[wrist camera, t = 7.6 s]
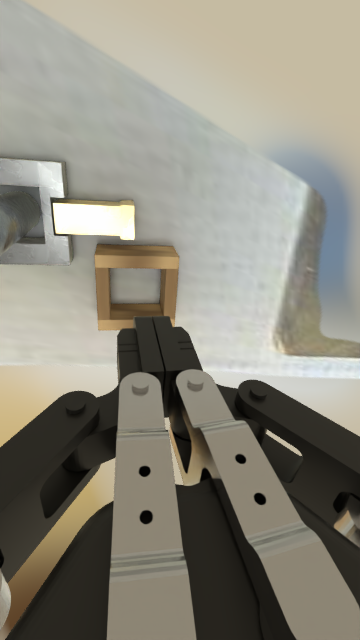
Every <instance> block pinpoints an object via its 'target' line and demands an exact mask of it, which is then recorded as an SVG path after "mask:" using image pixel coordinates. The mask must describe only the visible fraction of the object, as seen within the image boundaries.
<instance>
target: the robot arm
mask: <svg viewBox="0 0 360 640" xmlns="http://www.w3.org/2000/svg"><path fill="white" fill-rule="evenodd" d="M117 369H118V386H117V387H116V388H115V389H114V390H113V391H112V392H110V393H108V394H106V395H103V396H100V397H97V398H96V397H95V396H94V395H93V394H91V393H89V392H85V391H74V392H69V393H67V394H65V395H63V396H61V397H59V398H58V399H57V400H56V401H55V402H53V403H52V404H51V405H50V406H49V407H48V408H46V409H45V410H44V411H43V412H42V413H40V414H39V415H38V416H37V417H36V418H35V419H33V420H32V421H31V422H30V423H29V424H27V425H26V426H25V427H24V428H23V429H22V430H20V431H19V432H18V433H17V434H16V435H14V436H13V437H12V438H11V439H10V440H8V441H7V442H6V443H5V444H4V445H3V446H1V447H0V630H1V628H2V626H3V625H4V623H5V621H6V619H7V616H8V613H9V609H10V604H11V594H10V590H9V587H8V582H9V581H10V580H11V579H12V577H13V576H14V575H15V574H16V572H17V571H18V570H19V569H20V567H21V566H22V565H23V563H24V562H25V561H26V560H27V558H28V557H29V556H30V555H31V554H32V552H33V551H34V550H35V549H36V547H37V546H38V545H39V544H40V542H41V541H42V540H43V539H44V537H45V536H46V535H47V533H48V532H49V531H50V530H51V528H52V527H53V526H54V525H55V524H56V522H57V521H58V520H59V519H60V517H61V516H62V515H63V514H64V512H65V511H66V510H67V508H68V507H69V506H70V505H71V504H72V502H73V501H74V500H75V499H76V497H77V496H78V495H79V494H80V492H81V491H82V490H83V488H84V487H85V486H86V485H87V484H88V482H89V481H90V479H91V478H92V477H93V476H94V475H95V473H96V472H97V471H98V469H99V468H100V465H101V464H102V463H104V462H106V461H109V460H111V459H113V458H115V457H116V463H115V484H114V501H112V502H111V503H109V504H107V505H105V506H104V507H102V508H101V509H99V510H98V511H97V512H96V513H95V514H94V515H93V516H91V517H90V518H89V520H88V521H87V522H86V523H85V524H84V525H83V526H82V528H81V529H80V530H79V532H78V533H77V535H76V536H75V538H74V539H73V541H72V542H71V544H70V545H69V546H68V548H67V549H66V551H65V553H64V554H63V555H62V557H61V558H60V560H59V561H58V563H57V564H56V566H55V567H54V569H53V570H52V572H51V573H50V574H49V576H48V578H47V579H46V580H45V582H44V583H43V585H42V586H41V588H40V589H39V591H38V592H37V594H36V595H35V597H34V598H33V599H32V601H31V603H30V604H29V605H28V607H27V608H26V610H25V612H24V613H23V614H22V616H21V617H20V619H19V620H18V622H17V623H16V625H15V626H14V627H13V629H12V630H11V632H10V633H9V635H8V636H7V638H6V639H5V640H360V437H359V436H358V435H356V434H354V433H352V432H351V431H349V430H347V429H345V428H344V427H342V426H340V425H338V424H337V423H335V422H333V421H331V420H330V419H328V418H326V417H324V416H322V415H321V414H319V413H317V412H315V411H314V410H312V409H310V408H308V407H307V406H305V405H303V404H301V403H300V402H298V401H296V400H294V399H293V398H291V397H289V396H287V395H286V394H284V393H282V392H280V391H279V390H277V389H275V388H273V387H272V386H270V385H268V384H266V383H264V382H261V381H258V380H247V381H244V382H242V383H241V384H240V385H239V387H238V389H236V388H230V387H224V386H221V385H218V384H216V383H215V382H214V380H213V378H212V377H211V376H210V375H209V374H207V373H206V372H203V369H202V367H201V364H200V362H199V359H198V357H197V354H196V351H195V349H194V346H193V344H192V341H191V339H190V336H189V334H188V333H187V332H186V331H185V330H184V329H183V328H182V327H173V326H172V323H171V320H170V317H169V316H152V317H151V316H134V318H133V328H122V329H121V331H120V332H119V334H118V335H117ZM165 417H169V420H170V430H169V432H168V430H166V429H165V421H164V418H165ZM267 430H269V431H271V432H272V433H274V434H275V435H277V436H278V437H280V438H281V439H283V440H285V441H286V442H287V443H289V444H291V445H292V446H294V447H295V448H297V449H298V450H299V451H300V452H301V454H302V456H299V455H297V454H296V453H294V452H293V451H291V450H290V449H288V448H287V447H285V446H283V445H282V444H280V443H279V442H277V441H276V440H274V439H273V438H271V437H270V436H268V435H267V434H266V432H267ZM169 435H170V437H169ZM170 439H171V443H172V446H173V449H174V452H175V456H176V459H177V463H178V465H179V469H180V472H181V476H182V479H183V485H176V484H175V479H174V471H173V462H172V454H171V445H170Z"/></svg>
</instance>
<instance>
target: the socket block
mask: <svg viewBox="0 0 360 640" xmlns="http://www.w3.org/2000/svg"><path fill="white" fill-rule="evenodd" d="M0 185H17V186H34V187H39V192H40V200H41V208H42V217H43V225H44V233H45V238H34V237H22V238H21V239H20V240H18V241H17V242H16V243H15V244H14V245H13V246H11V247H10V248H9V249H8V250H7V251H6V252H4V253H3V254H2V255H1V256H0V264H26V265H70V264H71V262H72V260H73V248H72V236H71V234H59V233H56V228H55V219H54V209H53V203H54V202H55V201H56V200H55V197H57V198H64V197H66V196H67V195H68V188H67V176H66V164H65V162H57V161H43V160H29V159H15V158H2V157H0Z"/></svg>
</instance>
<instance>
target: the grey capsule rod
mask: <svg viewBox="0 0 360 640" xmlns="http://www.w3.org/2000/svg"><path fill="white" fill-rule="evenodd" d="M40 215H41V213H40V208H39V205H38V203H37V202H36V200H35V199H34V198H33V197H32V196H30V195H29V194H27V193H25V192H22V191H11V192H8V193H5V194H2V195H0V256H1V255H2V254H3V253H4V252H6V251H7V250H8V249H9V248H10V247H11V246H13V245H14V244H15V243H16V242H17V241H18V240H20V239H21V238H22V237H23V236H24V235H25V234H27V233H28V232H29V231H30V230H31V229H32V228H34V227H35V226H36V225H37V224H38V222H39V220H40Z"/></svg>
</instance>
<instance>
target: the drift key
mask: <svg viewBox="0 0 360 640" xmlns="http://www.w3.org/2000/svg"><path fill="white" fill-rule="evenodd" d="M53 209H54V219H55V228H56V233H59V234H88V235H118V236H121V239H129V240H134V203H133V201H131V200H121V202H110V201H90V200H71V199H58V200H57V201H55V202H54V203H53Z"/></svg>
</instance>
